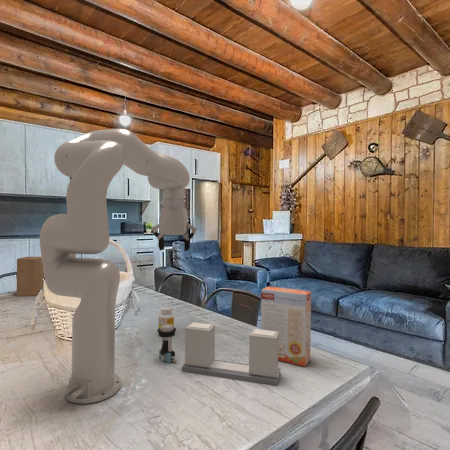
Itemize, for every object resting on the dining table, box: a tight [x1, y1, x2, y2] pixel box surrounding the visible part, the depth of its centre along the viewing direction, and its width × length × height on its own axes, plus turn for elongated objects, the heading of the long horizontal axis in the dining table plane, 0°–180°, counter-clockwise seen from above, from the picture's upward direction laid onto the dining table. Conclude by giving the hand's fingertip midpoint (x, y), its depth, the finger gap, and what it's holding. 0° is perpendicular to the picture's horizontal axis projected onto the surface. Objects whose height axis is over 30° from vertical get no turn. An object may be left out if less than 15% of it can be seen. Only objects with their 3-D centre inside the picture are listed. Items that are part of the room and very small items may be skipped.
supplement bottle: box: [157, 306, 175, 335], centre depth 113 cm, size 5×5×10 cm
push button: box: [157, 324, 178, 363], centre depth 92 cm, size 7×5×10 cm
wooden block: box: [16, 256, 44, 297], centre depth 171 cm, size 10×10×20 cm
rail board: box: [181, 321, 281, 387], centre depth 86 cm, size 7×26×12 cm, turn 74°
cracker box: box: [260, 285, 312, 367], centre depth 95 cm, size 14×6×21 cm, turn 59°
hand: (174, 250), depth 117 cm, fingers open, 9 cm apart
